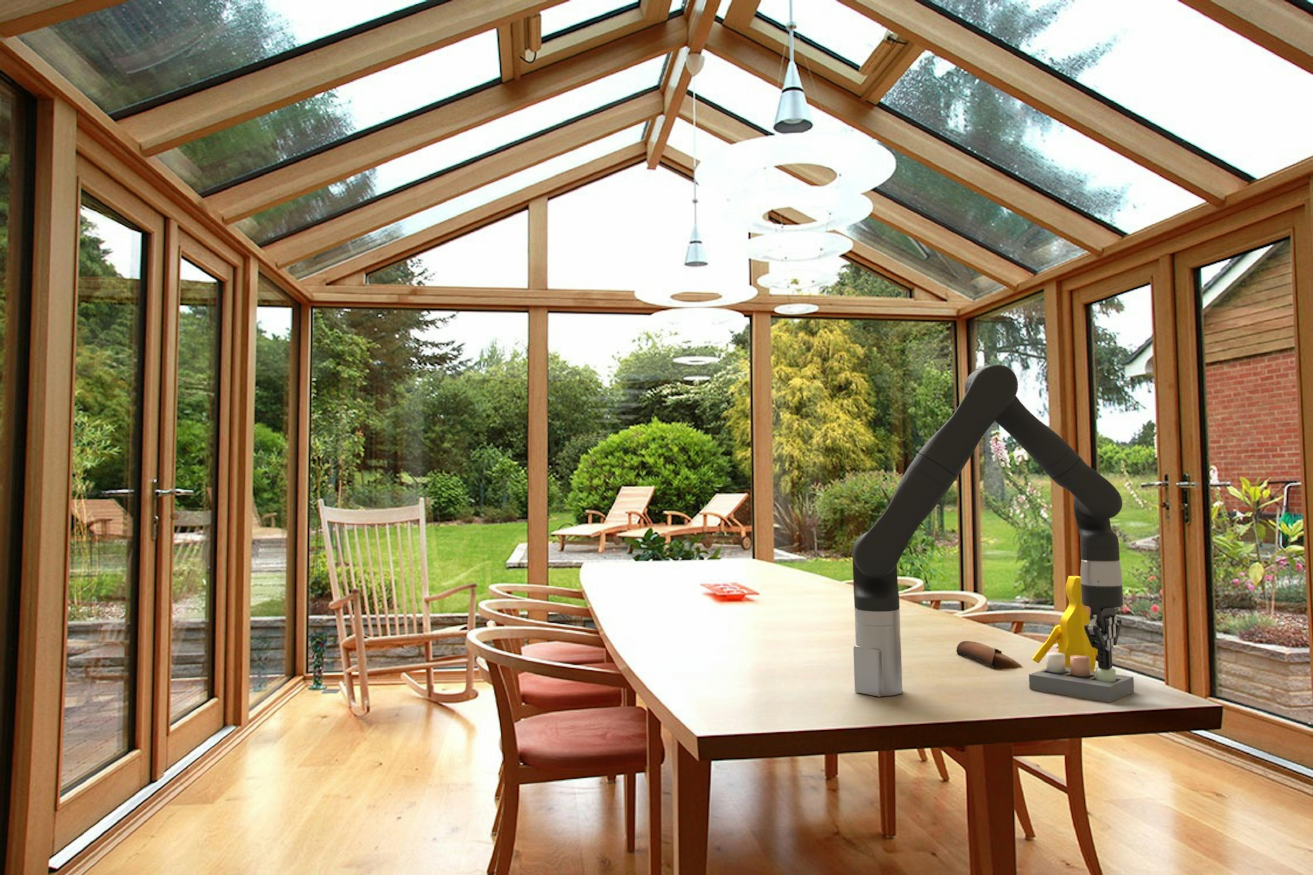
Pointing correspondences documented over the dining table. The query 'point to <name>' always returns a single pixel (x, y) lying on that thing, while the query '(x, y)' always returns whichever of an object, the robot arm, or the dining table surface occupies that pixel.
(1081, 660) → the terracotta button
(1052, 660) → the ivory button
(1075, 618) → the figure statuette
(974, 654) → the sunglasses case
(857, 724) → the dining table surface
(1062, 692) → the button box
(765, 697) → the dining table surface
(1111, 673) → the sage button
